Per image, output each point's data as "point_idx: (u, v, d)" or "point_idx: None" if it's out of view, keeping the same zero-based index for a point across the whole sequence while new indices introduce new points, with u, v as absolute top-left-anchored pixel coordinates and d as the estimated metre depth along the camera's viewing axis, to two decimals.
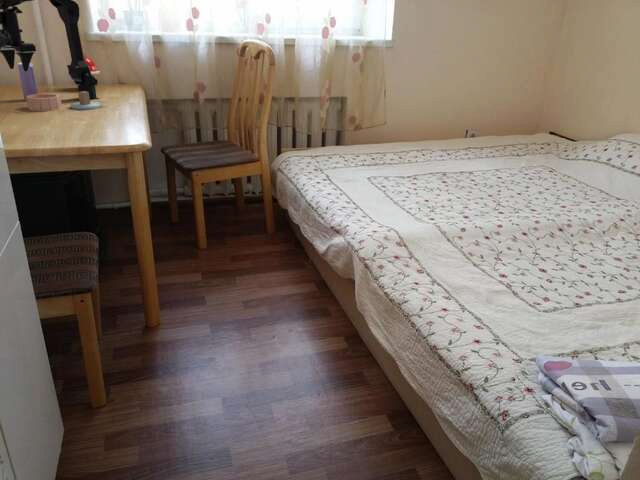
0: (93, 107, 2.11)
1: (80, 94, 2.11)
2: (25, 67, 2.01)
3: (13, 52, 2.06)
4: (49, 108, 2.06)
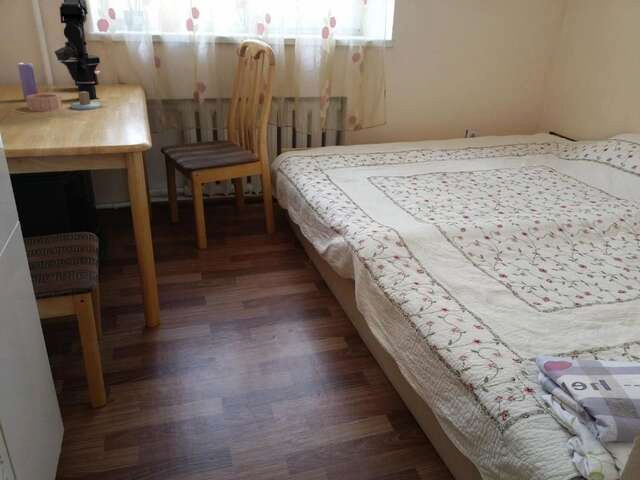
0: (93, 107, 2.11)
1: (80, 94, 2.11)
2: (89, 78, 2.07)
3: (76, 63, 2.12)
4: (49, 108, 2.06)
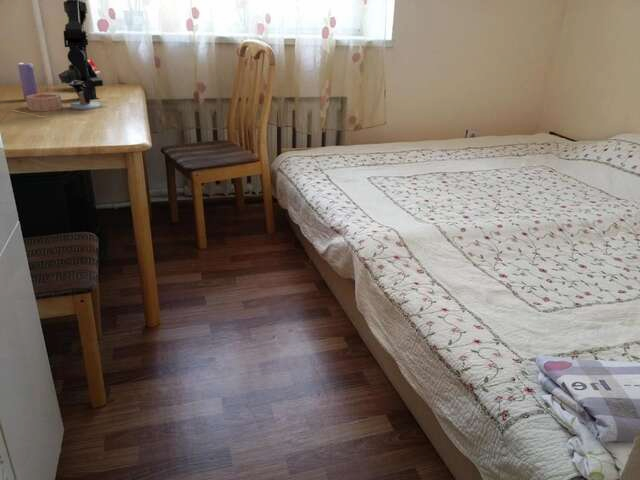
0: (93, 107, 2.11)
1: (80, 94, 2.11)
2: (87, 99, 2.12)
3: None
4: (49, 108, 2.06)
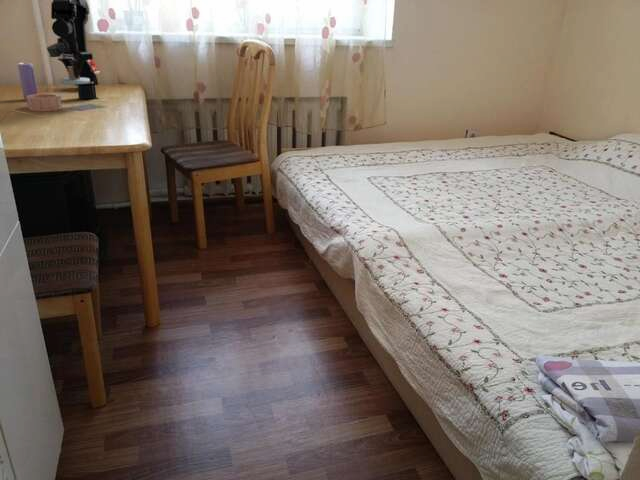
0: (83, 82, 2.07)
1: (69, 68, 2.06)
2: (76, 74, 2.07)
3: None
4: (49, 108, 2.06)
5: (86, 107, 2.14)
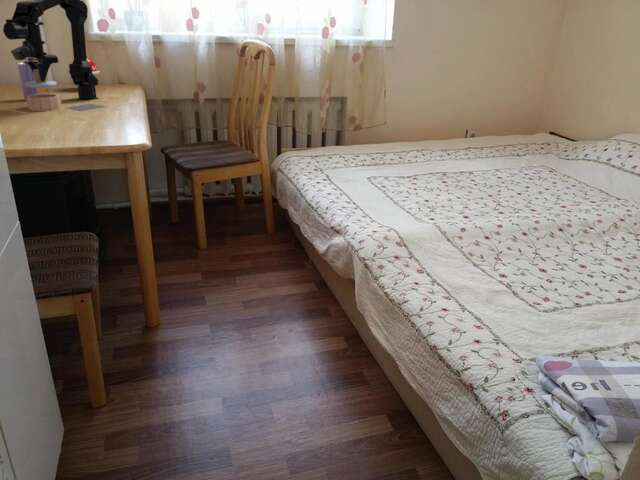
0: (49, 85, 2.04)
1: (35, 72, 2.04)
2: (43, 77, 2.05)
3: None
4: (49, 108, 2.06)
5: (86, 107, 2.14)
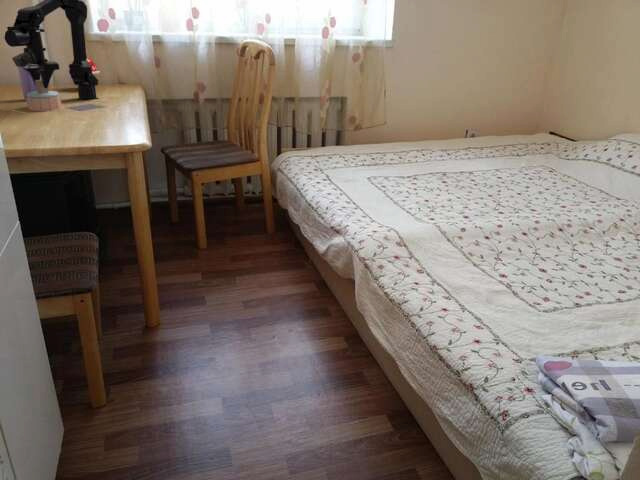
0: (50, 96, 2.06)
1: (37, 82, 2.05)
2: (45, 84, 2.05)
3: (39, 70, 2.08)
4: (49, 108, 2.06)
5: (86, 107, 2.14)
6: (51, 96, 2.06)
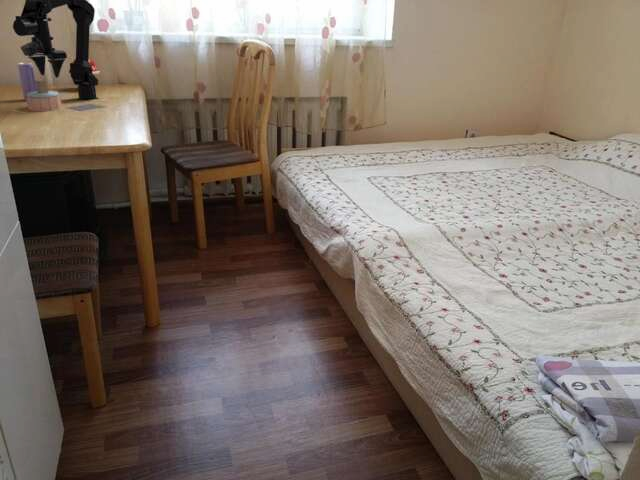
0: (50, 96, 2.06)
1: (37, 82, 2.05)
2: (56, 74, 2.07)
3: (44, 58, 2.11)
4: (49, 108, 2.06)
5: (86, 107, 2.14)
6: (51, 96, 2.06)
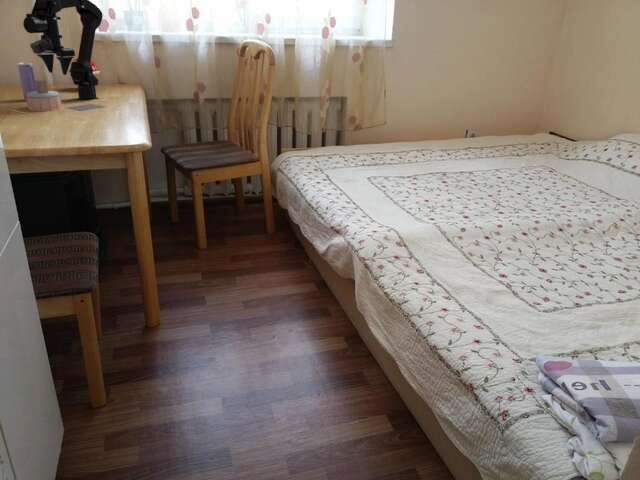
0: (50, 96, 2.06)
1: (37, 82, 2.05)
2: (64, 71, 2.10)
3: (52, 57, 2.15)
4: (49, 108, 2.06)
5: (86, 107, 2.14)
6: (51, 96, 2.06)
